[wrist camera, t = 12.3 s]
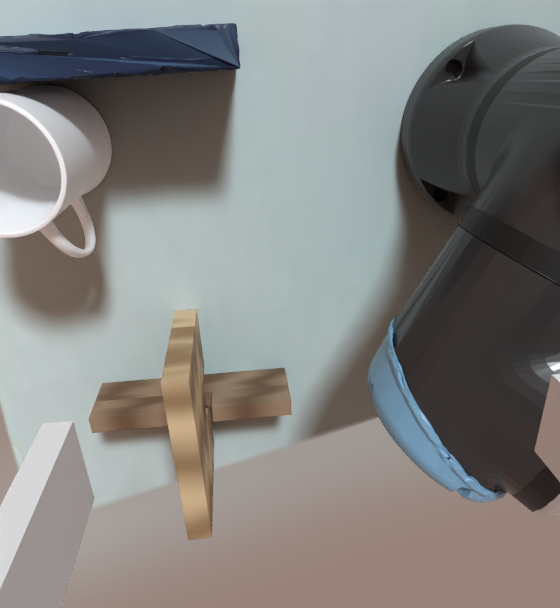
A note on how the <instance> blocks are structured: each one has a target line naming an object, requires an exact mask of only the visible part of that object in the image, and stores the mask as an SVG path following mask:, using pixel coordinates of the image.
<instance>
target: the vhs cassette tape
mask: <svg viewBox="0 0 560 608" xmlns="http://www.w3.org/2000/svg"><path fill="white" fill-rule="evenodd" d="M234 69H240V62H239V46H238V41H237V27H236V24H233V23H229V24H211V25H205V26H202V25H176V26H170V27H160V28H148V29H122V30H103V31H92V32H81V33H79V34H73V33H66V34H56V35H43V34H29V35H23V36H0V84H15V83H19V82H29V81H40V82H44V81H56V80H73V79H85V78H105V77H127V76H135V75H142V76H145V75H151V74H153V75H159V74H169V73H186V72H191V73H194V72H202V71H218V70H234Z"/></svg>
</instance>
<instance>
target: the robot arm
mask: <svg viewBox="0 0 560 608" xmlns="http://www.w3.org/2000/svg"><path fill="white" fill-rule="evenodd" d="M401 149H402V156H403V161H404V165H405V168H406V171H407V173H408V175H409V178H410V180H411V181H412V183H413V185H414V186H415V188H416V189H417V190H418V192H419V193H420V194H421V195H422V196H423V197H424V198H425V199H426V200H427V201H429V202H430V203H431V204H433V205H434V206H436V207H437V208H439V209H441V210H442V211H444V212H446V213H447V214H449V215H452V216H454V217H457V218H460V219H462V220H461V222H460V223H459V224H458V226H457V227H456V229H455V230H454V232H453V234H452V235H451V237H450V238H449V240H448V241H447V243H446V244H445V246H444V247H443V249H442V250H441V252H440V253H439V255H438V256H437V258H436V259H435V261H434V263H433V264H432V266H431V267H430V269H429V270H428V272H427V273H426V275H425V276H424V278H423V279H422V281H421V282H420V284H419V285H418V287H417V288H416V290H415V291H414V293H413V295H412V296H411V298H410V299H409V301H408V302H407V304H406V305H405V307H404V308H403V310H402V311H401V313H400V314H399V316H395V317H394V319H393V320H392V321H391V323H390V325H389V327H388V333H387V335H386V337H385V339H384V340H383V342H382V344H381V345H380V347H379V349H378V351H377V352H376V354H375V356H374V358H373V359H372V361H371V364H370V367H369V370H368V387H369V393H370V395H371V397H372V403H373V406H374V408H375V410H376V413H377V415H378V416H379V418H380V420H381V422H382V423H383V425H384V427H385V428H386V429H387V431H388V433H389V434H390V436H391V437H392V438H393V440H394V441H395V442H396V443H397V444H398V446H399V447H400V448H401V449H402V450H403V452H405V454H406V455H407V456H408V457H409V458H410V459H411V460H412V461H413V462H414V463H415V464H416V465H417V466H418V467H419V468H420V469H422V471H423V472H424V473H426V474H427V475H428V476H429V477H430V478H432V479H433V480H434V481H436V482H437V483H439V484H440V485H442V486H443V487H445V488H446V489H448V490H449V491H455V490H457V491H458V493H459V494H460V495H461V496H462V497H463V498H465V499H468V500H470V501H474V502H480V503H486V502H490V501H493V500H495V499H499V498H502V497H503V496H504V495H505V494H506V493H507V492H508V493H509V494H511V495H512V496H513V497H515V498H516V499H517V500H519V501H520V502H521V503H522V504H523V505H525V506H526V507H527V508H528V509H529V510H531V511H532V512H534V513H535V514H536V515H538V516H556V515H557V516H560V37H559V36H558V35H556V34H554V33H552V32H550V31H548V30H545V29H542V28H539V27H535V26H529V25H504V26H498V27H492V28H487V29H483V30H479V31H476V32H473V33H471V34H469V35H467V36H465V37H463V38H461V39H459V40H457V41H456V42H454V43H453V44H451V45H450V46H449V47H447V48H446V49H445V50H444V51H442V52H441V53H440V54H439V55H438V56H437V57H436V58H435V59H434V60H433V61H432V62H431V63H430V65H429V66H428V67H427V68H426V70H425V71H424V72H423V74H422V75H421V77H420V78H419V80H418V81H417V83H416V85H415V87H414V89H413V91H412V93H411V95H410V98H409V100H408V103H407V106H406V109H405V113H404V117H403V122H402V130H401ZM93 501H94V495H93V492H92V488H91V485H90V481H89V477H88V474H87V470H86V466H85V463H84V459H83V455H82V452H81V448H80V444H79V441H78V437H77V433H76V430H75V426H74V422H73V421H65V422H55V423H44V424H42V426H41V428H40V430H39V432H38V434H37V436H36V438H35V440H34V442H33V444H32V446H31V448H30V450H29V452H28V453H27V455H26V457H25V459H24V461H23V463H22V465H21V467H20V469H19V471H18V473H17V475H16V477H15V479H14V481H13V483H12V485H11V487H10V488H9V490H8V493H7V494H6V496H5V498H4V501H3V502H2V504H1V506H0V608H61V606H62V603H63V599H64V596H65V593H66V590H67V587H68V583H69V580H70V577H71V573H72V570H73V566H74V563H75V560H76V557H77V554H78V550H79V547H80V544H81V541H82V537H83V534H84V531H85V527H86V524H87V521H88V517H89V514H90V511H91V508H92V504H93Z"/></svg>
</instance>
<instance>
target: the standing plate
mask: <svg viewBox="0 0 560 608" xmlns="http://www.w3.org/2000/svg"><path fill="white" fill-rule="evenodd" d="M161 379H162V378H160V379H148V380H136V381H124V382H113V383H102V386H101V388H100V391H99V393H98V396H97V399H96V401H95V404H94V406H93V409H92V412H91V414H90V417H89V422H90V426H91V430H92V433H98V432H108V431H119V430H130V429H141V428H151V427H162V426H168V423H167V418H166V412H165V406H164V401H163V395H162V390H161ZM203 390H204V398H205V405H206V406H210V405H212V414H213V422H216V421H227V420H238V419H248V418H259V417H270V416H281V415H291V397H290V393H289V388H288V383H287V378H286V373H285V369H284V368H277V369H265V370H253V371H242V372H230V373H218V374H207V375H203Z"/></svg>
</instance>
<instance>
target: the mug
mask: <svg viewBox="0 0 560 608" xmlns="http://www.w3.org/2000/svg"><path fill="white" fill-rule="evenodd" d="M111 156H112V145H111V139H110V135H109V132H108V129H107V127H106V124H105V122H104V121H103V119H102V117H101V116H100V114H99V113H98V112H97V110H96V109H95V108H94V107H93V106H92V105H91V104H90V103H89V102H88V101H87V100H85V99H84V98H83V97H81V96H80V95H78V94H77V93H75V92H73V91H71V90H69V89H66V88H63V87H60V86H55V85H34V86H30V87H27V88H24V89H22V90H18V91H7V92H0V238H15V237H21V236H26V235H29V234H32V233H34V232H36V231H40V232H41V233H42V234H43V235H44V236H45V237H46V238H47V239H48V240H49V241H50V242H51V243H52V244H53V245H54V246H56V247H57V248H58V249H59V250H61V251H62V252H63V253H65V254H67V255H69V256H71V257H74V258H83V257H86V256H88V255H89V254H91V253H92V252H93V250H94V248H95V244H96V237H95V230H94V226H93V223H92V220H91V217H90V215H89V212H88V210H87V208H86V206H85V204H84V202H83V199H82V196H81V195H84V194H86V193H88V192H90V191H91V190H93V189H94V188H95V187H96V186H97V185H98V184H99V183H100V182H101V181H102V180H103V178H104V177H105V175H106V173H107V171H108V169H109V166H110V162H111ZM70 205H72V207H73V208H74V209H75V211H76V213H77V215H78V217H79V219H80V222H81V225H82V228H83V231H84V235H85V248H84V250H83V249H80V248H78V247H76V246H74V245H73V244H72V243H70V242H69V241H68V240H67V239H66V238H65V237H64V236H63V235H62V234H61V233H60V232H59V230H58V229H57V228H56V226H55V225H54V223H53V221H52V220H53V219H55V218H56V217H57V216H58V215H59V214H60V213H61V212H63V211H64V210H65V209H66V208H67V207H68V206H70Z"/></svg>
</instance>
